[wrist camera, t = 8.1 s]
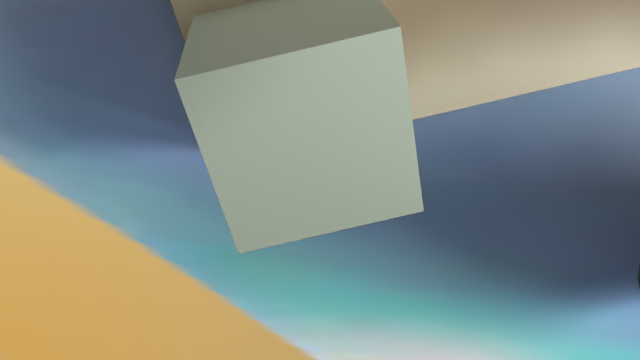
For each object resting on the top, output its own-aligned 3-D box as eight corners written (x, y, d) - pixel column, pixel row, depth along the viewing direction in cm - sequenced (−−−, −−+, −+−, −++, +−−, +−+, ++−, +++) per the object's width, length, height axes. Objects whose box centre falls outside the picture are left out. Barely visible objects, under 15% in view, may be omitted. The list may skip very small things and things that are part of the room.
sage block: (384, 126, 19) (424, 210, 15) (241, 159, 19) (238, 253, 15) (360, -24, 16) (400, 26, 12) (193, 15, 16) (174, 79, 12)
